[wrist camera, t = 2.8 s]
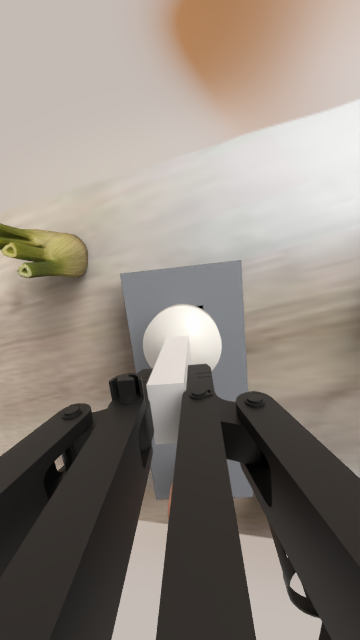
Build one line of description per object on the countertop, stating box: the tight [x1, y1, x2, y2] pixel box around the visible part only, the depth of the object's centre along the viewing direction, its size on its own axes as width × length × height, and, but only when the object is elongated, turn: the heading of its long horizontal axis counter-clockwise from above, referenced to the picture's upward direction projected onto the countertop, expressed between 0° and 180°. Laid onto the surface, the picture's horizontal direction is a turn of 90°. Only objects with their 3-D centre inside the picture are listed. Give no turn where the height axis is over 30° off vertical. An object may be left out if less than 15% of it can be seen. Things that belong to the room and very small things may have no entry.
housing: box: [120, 260, 253, 499], centre depth 29 cm, size 12×28×7 cm, turn 6°
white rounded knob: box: [143, 304, 222, 371], centre depth 21 cm, size 6×6×8 cm
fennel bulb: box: [0, 224, 88, 278], centre depth 24 cm, size 6×5×12 cm
